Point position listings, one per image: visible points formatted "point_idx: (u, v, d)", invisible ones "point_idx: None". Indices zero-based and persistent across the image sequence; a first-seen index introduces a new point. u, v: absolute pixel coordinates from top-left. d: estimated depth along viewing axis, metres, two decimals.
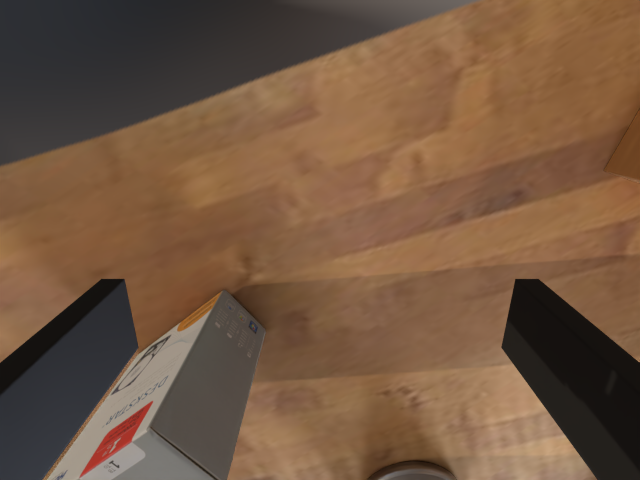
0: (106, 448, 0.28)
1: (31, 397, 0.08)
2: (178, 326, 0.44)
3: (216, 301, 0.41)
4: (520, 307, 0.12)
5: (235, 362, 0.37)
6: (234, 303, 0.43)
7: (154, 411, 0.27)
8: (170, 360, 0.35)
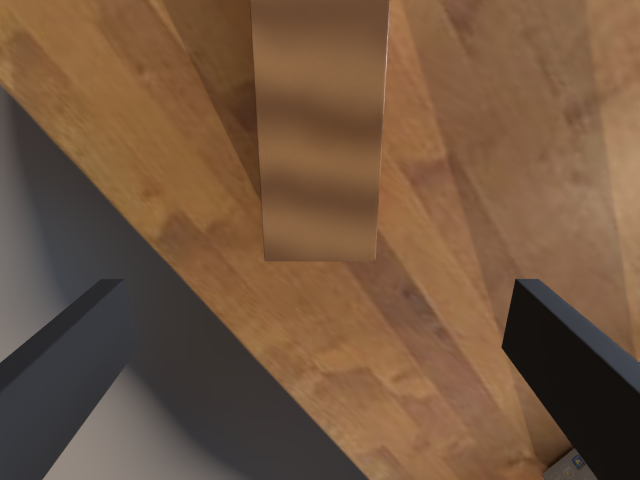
0: None
1: (31, 397, 0.08)
2: None
3: None
4: (520, 307, 0.12)
5: None
6: (555, 472, 0.49)
7: None
8: None
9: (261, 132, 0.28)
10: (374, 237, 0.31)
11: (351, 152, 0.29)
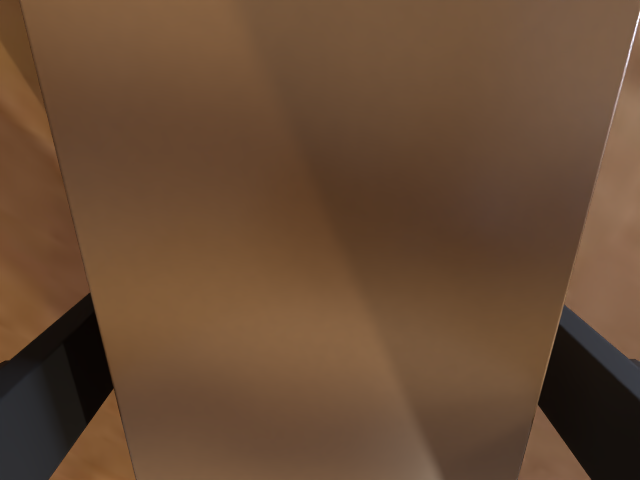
0: None
1: (41, 393, 0.09)
2: None
3: None
4: None
5: None
6: None
7: None
8: None
9: (92, 238, 0.07)
10: None
11: (450, 308, 0.07)
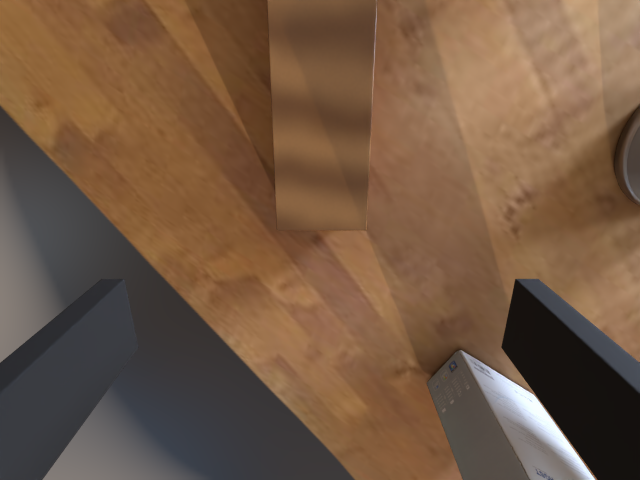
0: None
1: (31, 397, 0.08)
2: None
3: (432, 397, 0.53)
4: (520, 307, 0.12)
5: (467, 409, 0.46)
6: (435, 378, 0.54)
7: None
8: None
9: (275, 125, 0.36)
10: (365, 210, 0.39)
11: (346, 141, 0.36)
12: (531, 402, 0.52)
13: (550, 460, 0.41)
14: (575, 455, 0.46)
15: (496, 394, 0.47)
